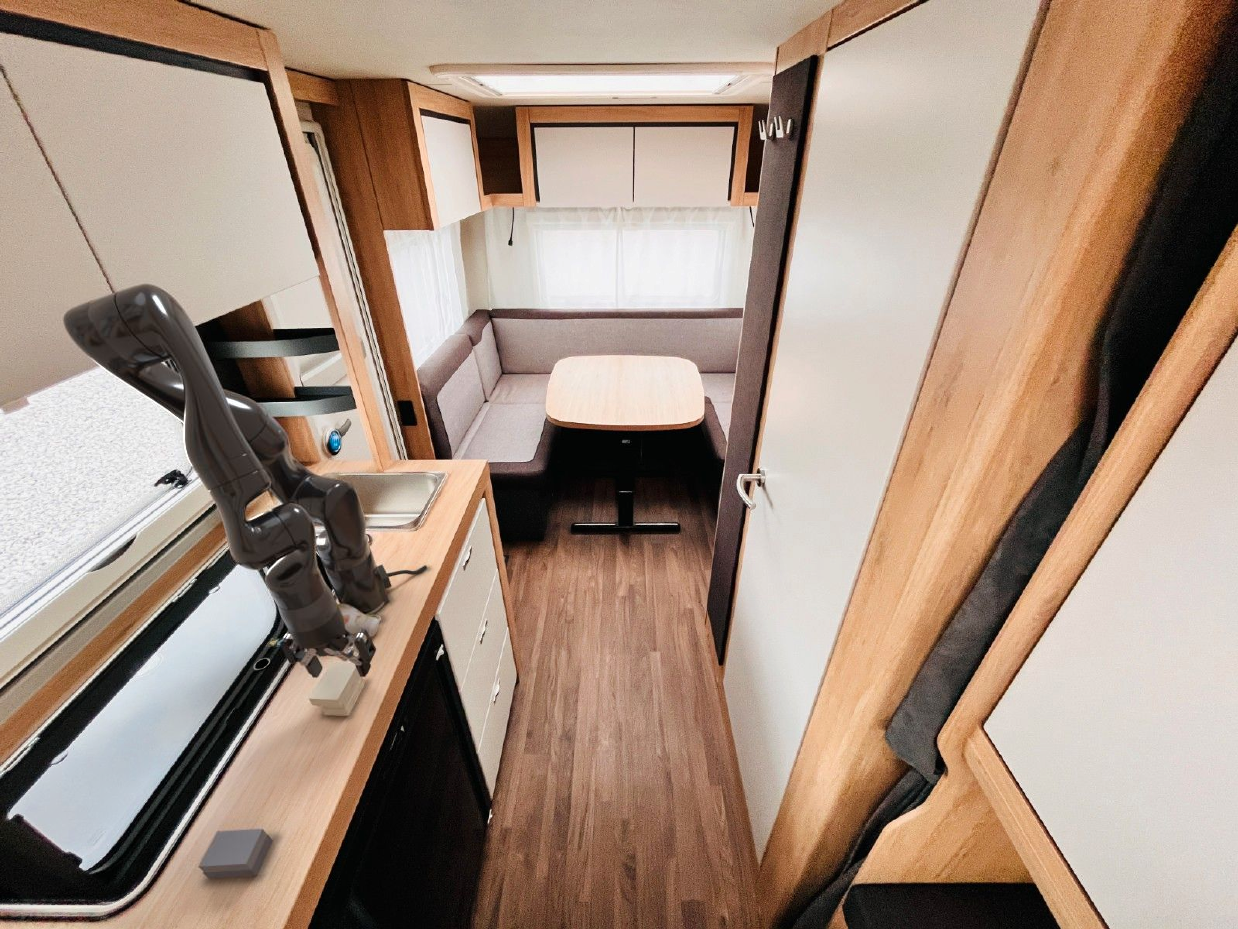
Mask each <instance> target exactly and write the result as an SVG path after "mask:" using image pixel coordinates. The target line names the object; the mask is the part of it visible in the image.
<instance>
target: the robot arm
mask: <svg viewBox="0 0 1238 929" xmlns="http://www.w3.org/2000/svg"><path fill="white" fill-rule="evenodd" d="M62 324H63V326H64V327H63V328H64V330H65V331H66V332H67V334H68V336H69V337H70V339H71V340H72V342H73V343H74V344H75V345H76V346H77V347H78V348H79V349H80V350H81V351H82V353H83V354H85V355H86V356H87V357H88V358H90V360H92V361H93V362H94V363H96V364H97V365H98V366H100V367H101V368H102V369H104V370H105V371H107V372H108V373H109V374H111V375H112V376H114V377H115V378H117V379H118V380H120V381H121V382H123V383H125V384H126V385H127V386H129V387H130V388H133V389H134V390H135V391H137V392H138V393H140V394H141V395H143V396H144V397H145V398H147V399H148V400H151V401H152V402H154V403H155V404H157V405H158V406H160V407H161V408H163V409H164V410H165V411H167V412H168V413H169V414H171V415H172V416H173V417H175V418H176V419H178V420H179V421H180V422H181V423H182V424H183V445H184V451H185V454H186V457H187V460H188V462H189V463H190V465H191V467H192V469H193V470H194V472H195V473H196V475H197V476H198V478H199V480H200V481H201V482H202V484H203V486H204V487H205V489H206V490H207V491H208V493H209V495H210V497H211V498H212V500H213V502H214V504H215V506H216V508H217V511H218V512H219V513H218V514H219V515H220V518H221V521H222V526H223V528H224V532H225V537H226V541H227V542H226V543H227V546H228V549H229V552H230V555H231V557H232V559H233V560H234V561H235V563H237V565H239V566H240V567H242V568H244V569H246V570H250V571H260V570H262V569H265V568H267V567H269V566H270V565H271V566H270V567H269V568H268V570H267V571H266V573H265V577H264V581H265V585H266V587H267V589H268V591H269V593H270V595H271V596H272V598H273V600H274V601H275V604H276V605H277V608H278V611H279V614H280V617H281V619H282V621H283V622H284V624H285V627H286V628H287V631H286V633H285V634H284V636H283V637H282V639H281V640H280V642H279V645H280V648H281V649H282V652H283V654H284V655H285V657H286V659H287V662H288V663H289V664H291V665H295V664H296V663H299V664H300V666H303V667H304V668H305V669H306V672H307V674H309V675H311V677H312V678H313V679H314V678H316V679H317V678H319V676H320V675H321V673H322V671H323V669H324V668H323V665H322V663H321V661H320V659H319V658H320V657H336V658H338V659H340V660H341V661H342V662H352V663H354V664H355V666H356V669H357V671H358V673H359V675H360V677H363V678H366V677H367V675H368V674H369V672H370V670H371V668H372V665H371V663H372V660H373V658H374V656H375V655H376V652H377V648H376V646H375V644H374V642H373V640H372V638H371V637H370V636H369V634H368V632H367V631H366V630H365V629H361V630H360V632H359V633H358V634H351V633H350V632H349V631H347V630H346V629H345V623H344V618H343V615H342V613H341V611H340V609H339V607H338V604H347V605H350V606H352V607H354V608H356V609H357V610H358V611H360V612H361V613H363V614H370V615H375V614H377V612H379V611H380V610H381V609H382V608H383V607H384V606H385V605H387V604H388V603H390V598H389V595H388V592H387V589H389V588H392V587H393V585H392V583H391V579H390V577H394V576H398V575H411V576H413V575H414V576H415V575H418V574H420V573H422V572H424V571H425V570H427V569H428V566H427V564H425V565H423V566H421V567H420V568H419V569H416V570H410V569H401V570H397V571H391V572H388V573H387V571H386V569H385V567H384V565H383V564H380V565H377V564H376V560H375V557H374V555H373V552H372V549H371V546H370V543H369V540H368V537H367V534H366V531H367V530H366V529H367V522H366V518H365V514H364V510H363V506H362V502H361V499H360V495H359V493H358V491H357V489H356V487H355V486H354V485H353V484H352V483H351V482H349V481H347V480H344V479H338V478H335V477H334V478H333V477H328V476H323V475H319V474H316V473H314V472H313V471H311V470H309V469H308V468H307V467H306V466H304V465H303V464H302V463H301V462H300V461H298V460H297V458H296V457H295V456H294V455H293V454H292V449H291V448H292V446H291V443H290V439H289V435H288V434H287V432H286V430H285V429H284V428H283V427H282V426H281V424H280V423H279V422H278V421H277V420H276V419H275V417H273V416H272V415H271V414H270V413H269V412H268V411H267V410H266V409H265V408H264V407H263V406H262V405H260V404H259V403H258V402H256V401H255V400H254V399H252V398H249V397H247V396H244V395H243V394H239V393H237V392H233V391H230V390H228V389H224V388H223V386H222V385H221V382H220V380H219V377H218V374H217V373H216V370H215V368H214V365H213V363H212V362H211V359H210V356H209V354H208V352H207V350H206V348H205V346H204V343H203V341H202V338H201V337H200V334H199V332H198V330H197V328H196V326H195V324H194V322H193V321H192V319H191V317H190V316H189V315H188V313H187V312H186V310H185V309H184V307H183V306H182V305H181V304H180V303H179V302H178V301H177V299H175V298H174V297H173V296H172V295H171V294H170V293H169V292H167V291H166V290H165V289H163V288H161V287H160V286H157V285H154V284H151V283H142V284H137V285H133V286H130V287H127V288H124V289H120V290H118V291H115V292H112V293H109V294H107V295H104V296H100V297H98V298H95V299H91V300H88V301H85V302H83V303H80V304H78V305H75V306H72V307H71V308H69V309H68V310H67V311H65V313H64V314H63V317H62ZM170 360H172V362H173V364H174V365H175V368H176V370H177V371H178V372H177V371H175V370H173V369H172V368H171V367H169V366H167V365H166V364H164V362H167V361H170ZM268 491H269V492H270V493H271V494H272V495H273V496H274V497H275V498H276V499H277V501H279V502H280V503H281V504H279V505H277V506H275V507H273V508H270V509H269V510H266V511H264V512H263V513H260V514H258V515H256V516H253V517H251V518H249V519H247V516H246V511H247V508H248V507H249V505H251V503H253V502H254V501H256V500H257V499H258V498H259V497H261V496H262V495H264V494H266V492H268ZM315 524H316V525H321V526H323V528H324V529H323V531H321V532H320V533H319V534H318V535H317V534H316V527H315ZM317 554H318V556H319V558H320V561H321V563H322V565H323V568H324V570H325V573H326V575H327V577H328V580H329V582H330V585H331V587H332V589H333V591H332V590H331V589H330V587H329V585H328V584H327V583H326V580H325V578H324V575H323V573H322V572H321V569H320V567H319V564H318V557H317ZM333 592H334V593H333ZM337 602H338V603H337ZM347 646H348V648H347V650H346V652H344V650H345V649H346V647H347ZM305 650H307V651H305ZM354 653H356V654H357V656H356V655H354Z"/></svg>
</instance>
